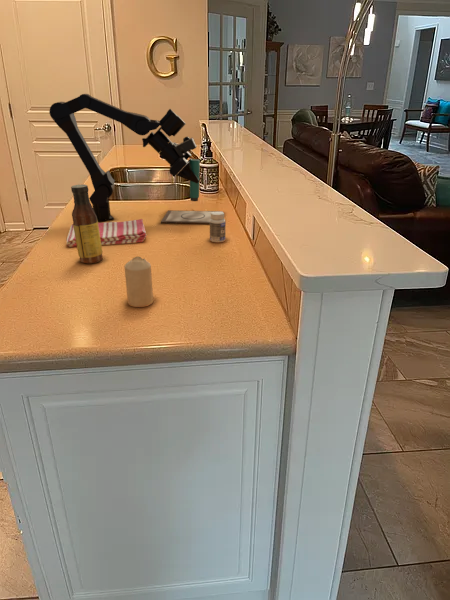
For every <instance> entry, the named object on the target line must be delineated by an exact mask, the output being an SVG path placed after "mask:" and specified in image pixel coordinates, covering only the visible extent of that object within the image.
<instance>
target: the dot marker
mask: <svg viewBox="0 0 450 600" xmlns="http://www.w3.org/2000/svg"><path fill="white" fill-rule="evenodd" d="M190 168H191V170H192V171H193V172H194V174H195V175H196V177H197V178H198V179H199V178H200V171H201V170H200V169H201V160H200V159H197V158H191V160H190ZM189 198H190V202H198V201H199V198H200V182H199V183H195V182H192V181H190V180H189Z"/></svg>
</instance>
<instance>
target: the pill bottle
mask: <svg viewBox="0 0 450 600" xmlns="http://www.w3.org/2000/svg"><path fill="white" fill-rule="evenodd" d="M216 211H217V212H212V213H211V218H212V219H210V224H209V241H210V242H212V243H223V242H225V241H226V239H227V237H226V236H227V235H226V231H227V229H226V219H225V216H226V215H225V212H224V211H223V212H219V211H220V210H216Z"/></svg>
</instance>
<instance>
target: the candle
mask: <svg viewBox="0 0 450 600" xmlns="http://www.w3.org/2000/svg"><path fill="white" fill-rule="evenodd" d="M152 275H153V274H152V264H151V262H150V261H148V260H147V259H145V258H142V257H141V256H134V257H133V258H131V259H130V260H129V261H127V262H126V263H125V265H124V277H125V287H126V297H127V304H128V306H131V307H134V308H143V307H147V306H148V307H149V306H150V305H152V304H153V302H154V292H153V290H154V289H153V288H154V287H153V276H152Z"/></svg>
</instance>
